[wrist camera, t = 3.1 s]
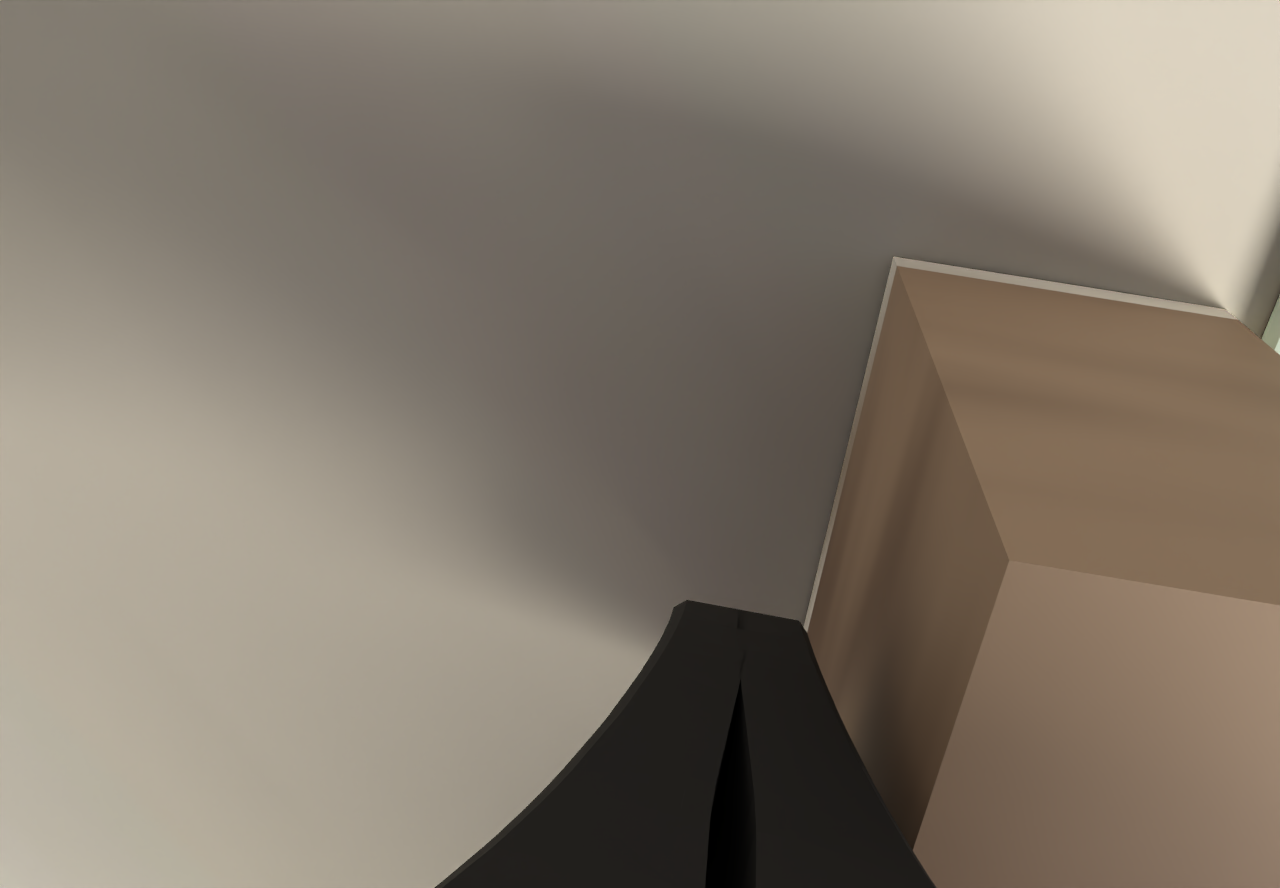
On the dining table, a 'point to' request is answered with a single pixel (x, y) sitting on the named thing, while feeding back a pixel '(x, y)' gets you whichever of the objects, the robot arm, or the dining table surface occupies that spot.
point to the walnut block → (1061, 585)
